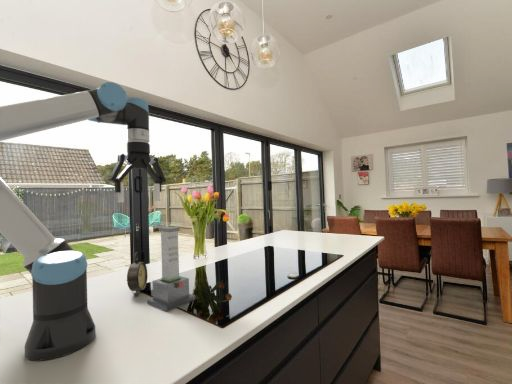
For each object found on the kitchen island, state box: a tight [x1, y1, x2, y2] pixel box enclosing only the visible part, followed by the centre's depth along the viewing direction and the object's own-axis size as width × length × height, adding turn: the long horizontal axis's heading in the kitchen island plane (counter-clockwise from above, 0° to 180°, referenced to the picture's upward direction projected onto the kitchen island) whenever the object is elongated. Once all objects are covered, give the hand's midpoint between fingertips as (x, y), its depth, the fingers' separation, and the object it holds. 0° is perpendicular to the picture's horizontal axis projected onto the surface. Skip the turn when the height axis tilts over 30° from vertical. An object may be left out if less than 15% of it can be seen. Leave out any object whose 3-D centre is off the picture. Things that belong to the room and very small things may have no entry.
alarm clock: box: [126, 251, 148, 297], centre depth 106 cm, size 11×5×16 cm, turn 5°
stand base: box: [146, 275, 196, 313], centre depth 96 cm, size 12×12×8 cm
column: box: [158, 226, 181, 283], centre depth 96 cm, size 4×6×19 cm
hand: (140, 201), depth 95 cm, fingers open, 13 cm apart
